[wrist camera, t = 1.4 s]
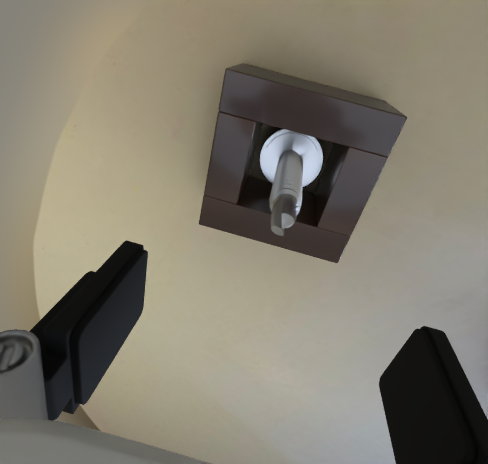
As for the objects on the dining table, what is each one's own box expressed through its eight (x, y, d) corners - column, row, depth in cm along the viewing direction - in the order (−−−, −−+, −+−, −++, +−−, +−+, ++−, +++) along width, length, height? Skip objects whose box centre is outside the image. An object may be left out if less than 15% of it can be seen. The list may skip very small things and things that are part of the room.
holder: (242, 62, 24) (225, 68, 19) (386, 101, 24) (407, 117, 19) (217, 193, 30) (198, 224, 25) (332, 225, 30) (337, 263, 24)
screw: (266, 182, 28) (260, 126, 26) (322, 177, 27) (321, 119, 25) (240, 269, 17) (225, 186, 15) (333, 268, 16) (333, 178, 14)
